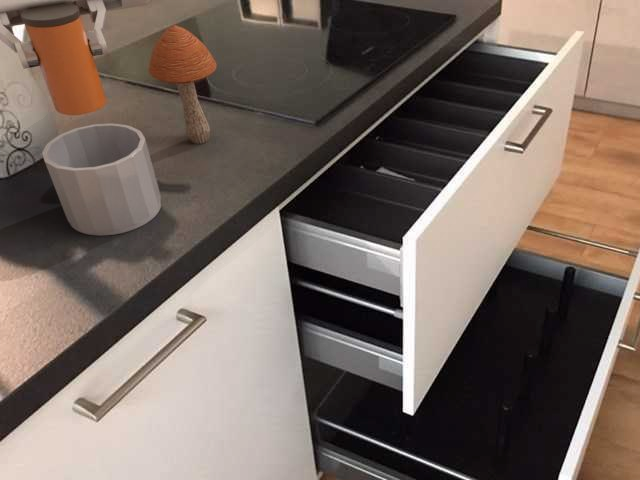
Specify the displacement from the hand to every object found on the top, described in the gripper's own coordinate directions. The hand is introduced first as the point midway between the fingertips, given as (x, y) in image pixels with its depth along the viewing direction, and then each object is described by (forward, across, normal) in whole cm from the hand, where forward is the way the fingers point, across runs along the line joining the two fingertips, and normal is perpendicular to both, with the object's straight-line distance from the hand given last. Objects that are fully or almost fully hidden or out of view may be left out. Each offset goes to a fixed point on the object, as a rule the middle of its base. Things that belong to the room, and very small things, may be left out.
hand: (66, 58), depth 62 cm
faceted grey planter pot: (+12, 0, +13) cm, 17 cm away
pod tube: (+3, 0, +4) cm, 5 cm away
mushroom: (+4, +13, +21) cm, 25 cm away
